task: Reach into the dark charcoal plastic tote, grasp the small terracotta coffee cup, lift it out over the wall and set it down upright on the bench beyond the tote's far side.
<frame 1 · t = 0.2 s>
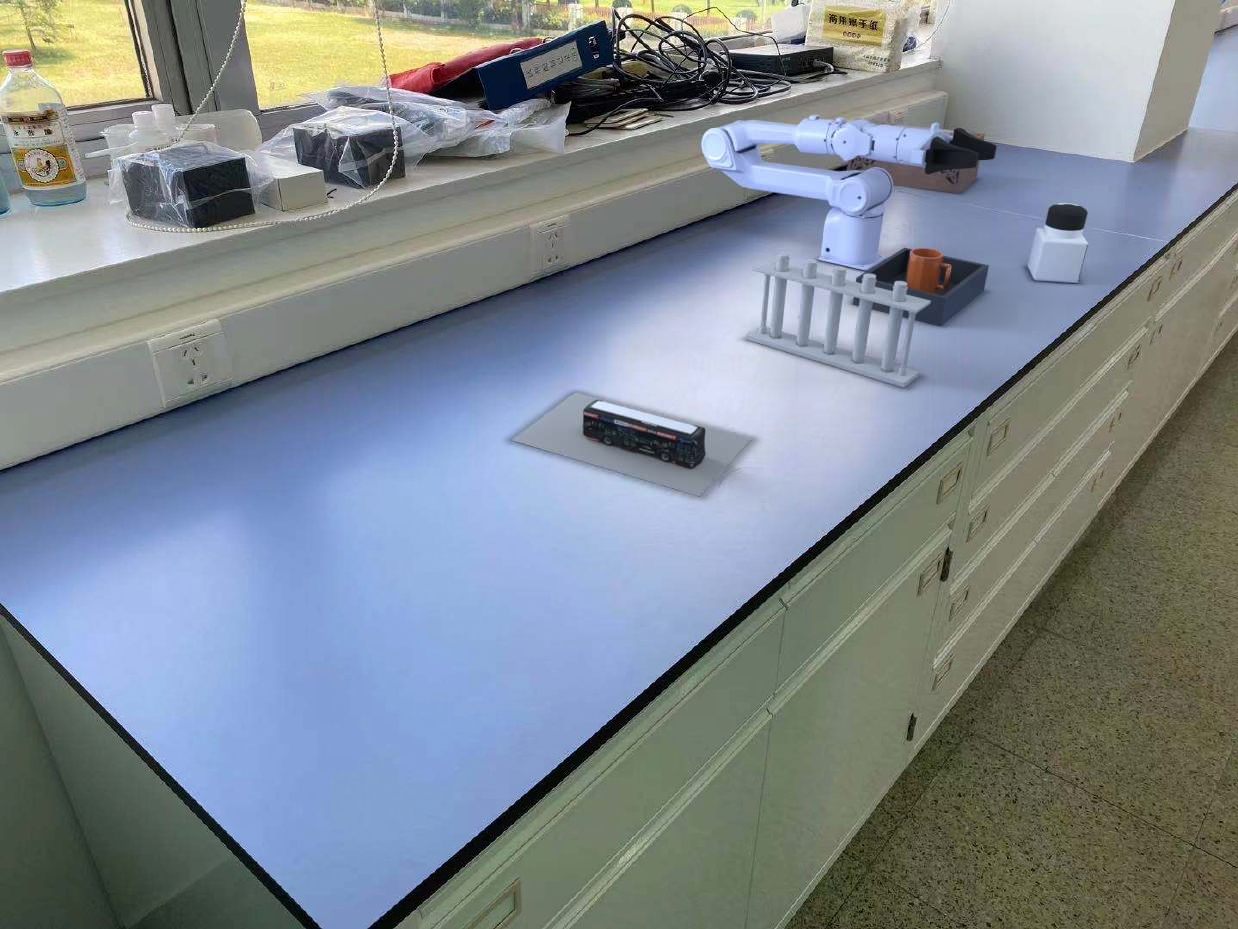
hand: (986, 156, 150), 21 cm above the worktop, tool horizontal, fingers open, 7 cm apart
medicine bottle: (1051, 276, 165), on the worktop
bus: (631, 441, 116), on the worktop
bin: (919, 297, 156), on the worktop
test tube rack: (828, 358, 136), on the worktop
cup: (928, 275, 153), in the bin
tissue box cover: (910, 178, 220), on the worktop
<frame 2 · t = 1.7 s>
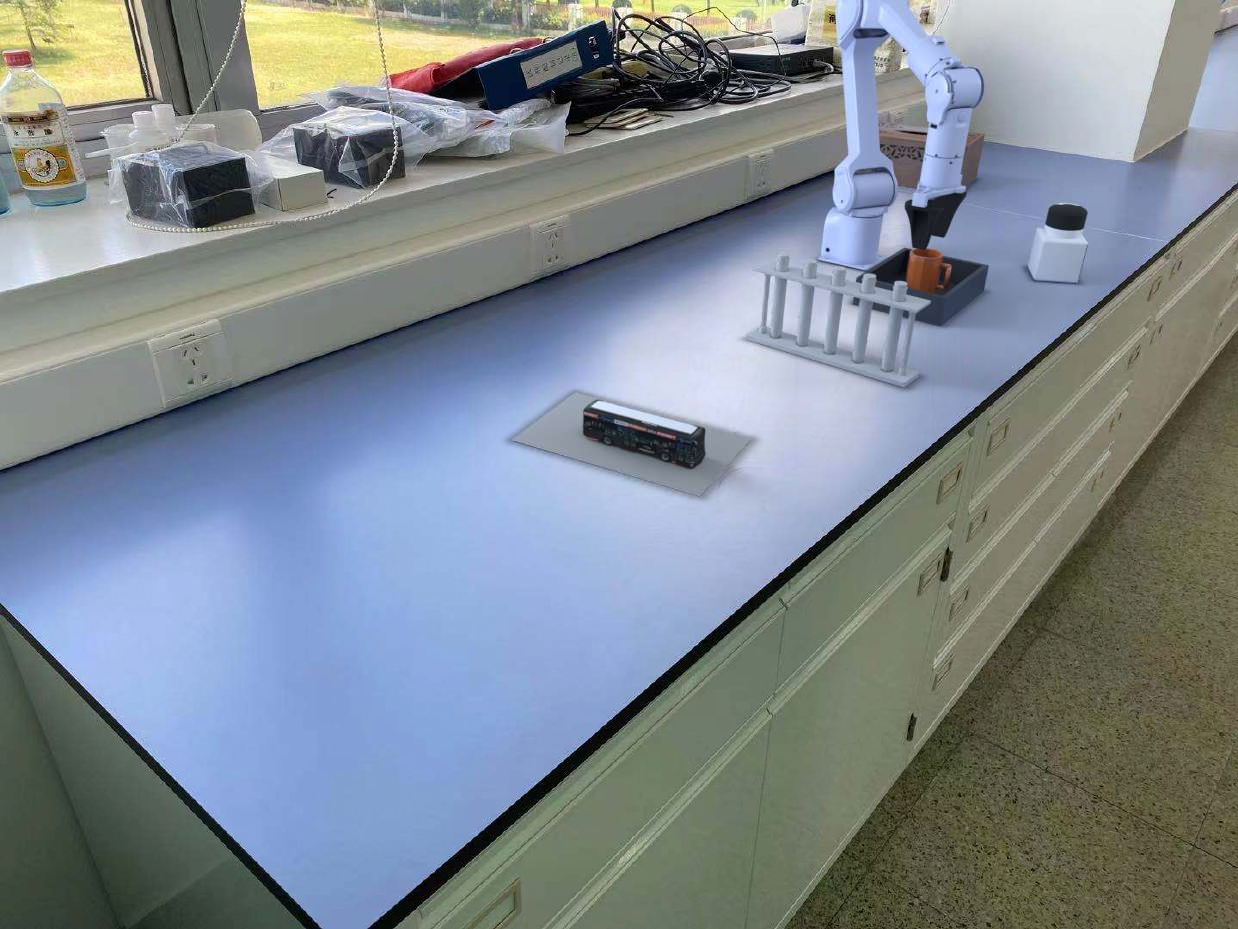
hand: (928, 242, 151), 9 cm above the worktop, tool pointing down, fingers open, 7 cm apart
nothing on the worktop moved.
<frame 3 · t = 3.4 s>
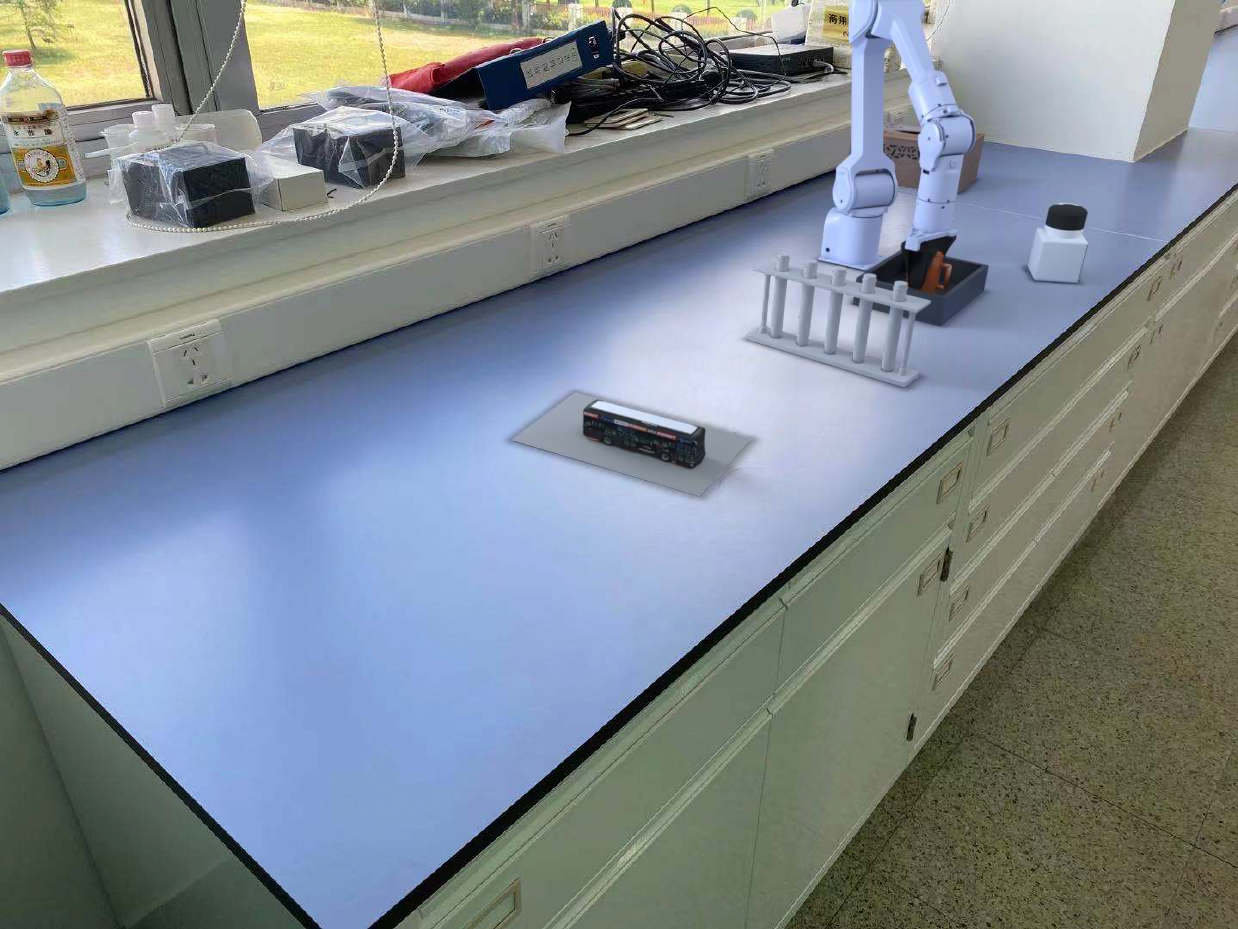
hand: (921, 282, 155), 3 cm above the worktop, tool pointing down, fingers closed on cup, 5 cm apart
cup: (928, 275, 153), in the bin, touching gripper
everything else where it was.
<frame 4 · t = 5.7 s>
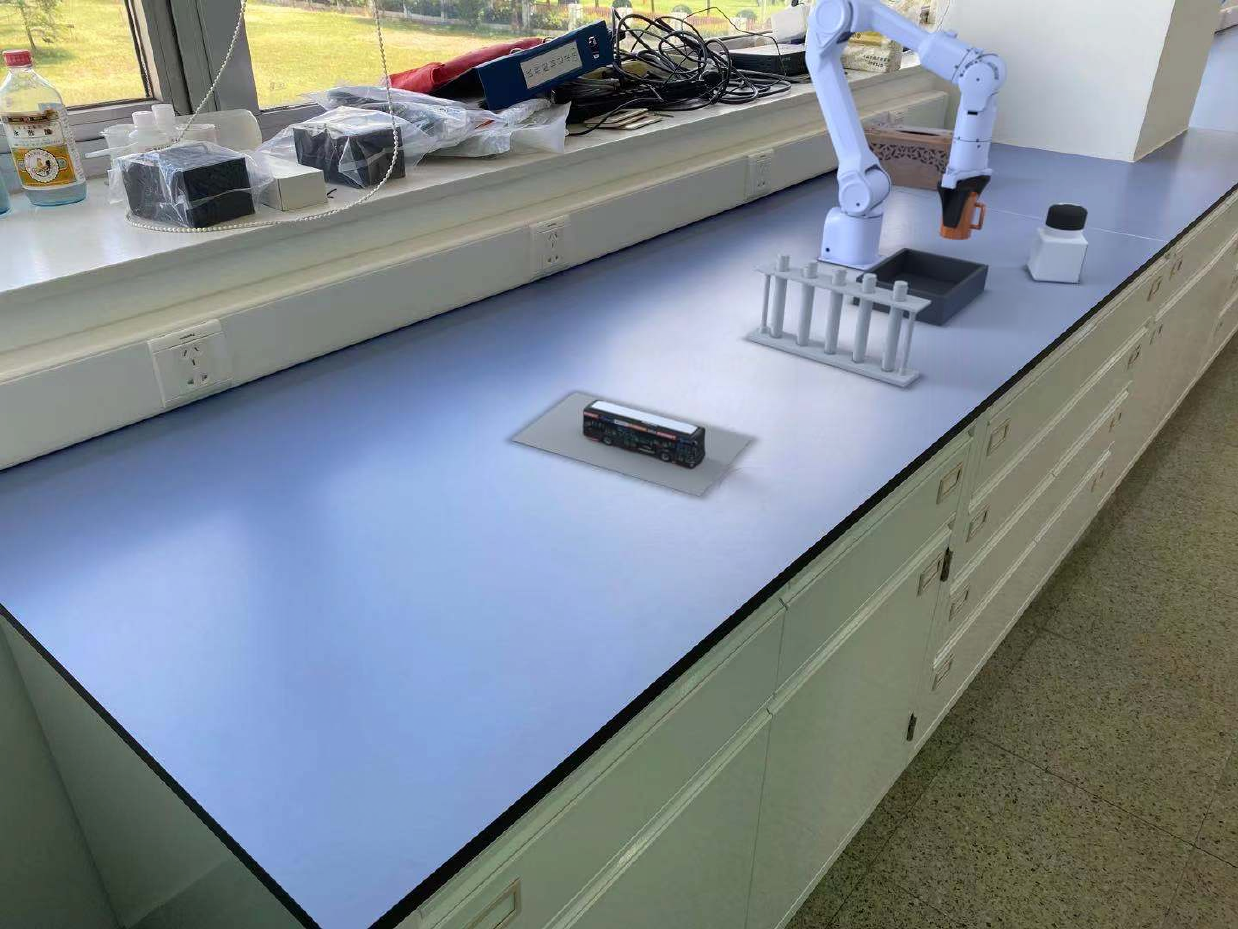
hand: (956, 222, 159), 10 cm above the worktop, tool pointing down, fingers closed on cup, 5 cm apart
cup: (963, 215, 158), point 11 cm above the worktop, touching gripper
everything else where it was.
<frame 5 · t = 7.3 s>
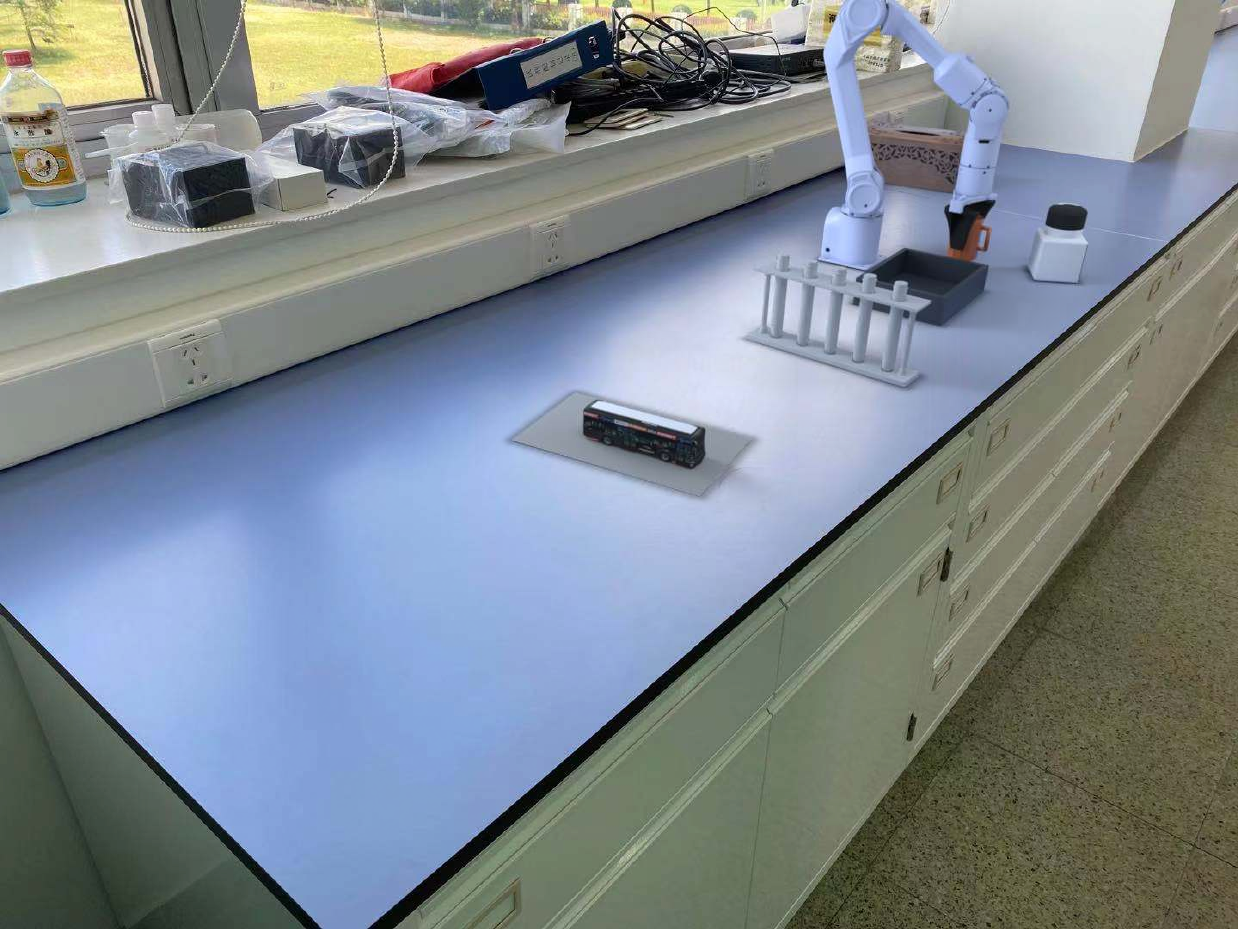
hand: (962, 244, 165), 4 cm above the worktop, tool pointing down, fingers closed on cup, 5 cm apart
cup: (969, 237, 164), point 6 cm above the worktop, touching gripper
everything else where it was.
when the fingers open (2 cm above the worktop, at t = 8.5 s): cup stays where it is, on the worktop.
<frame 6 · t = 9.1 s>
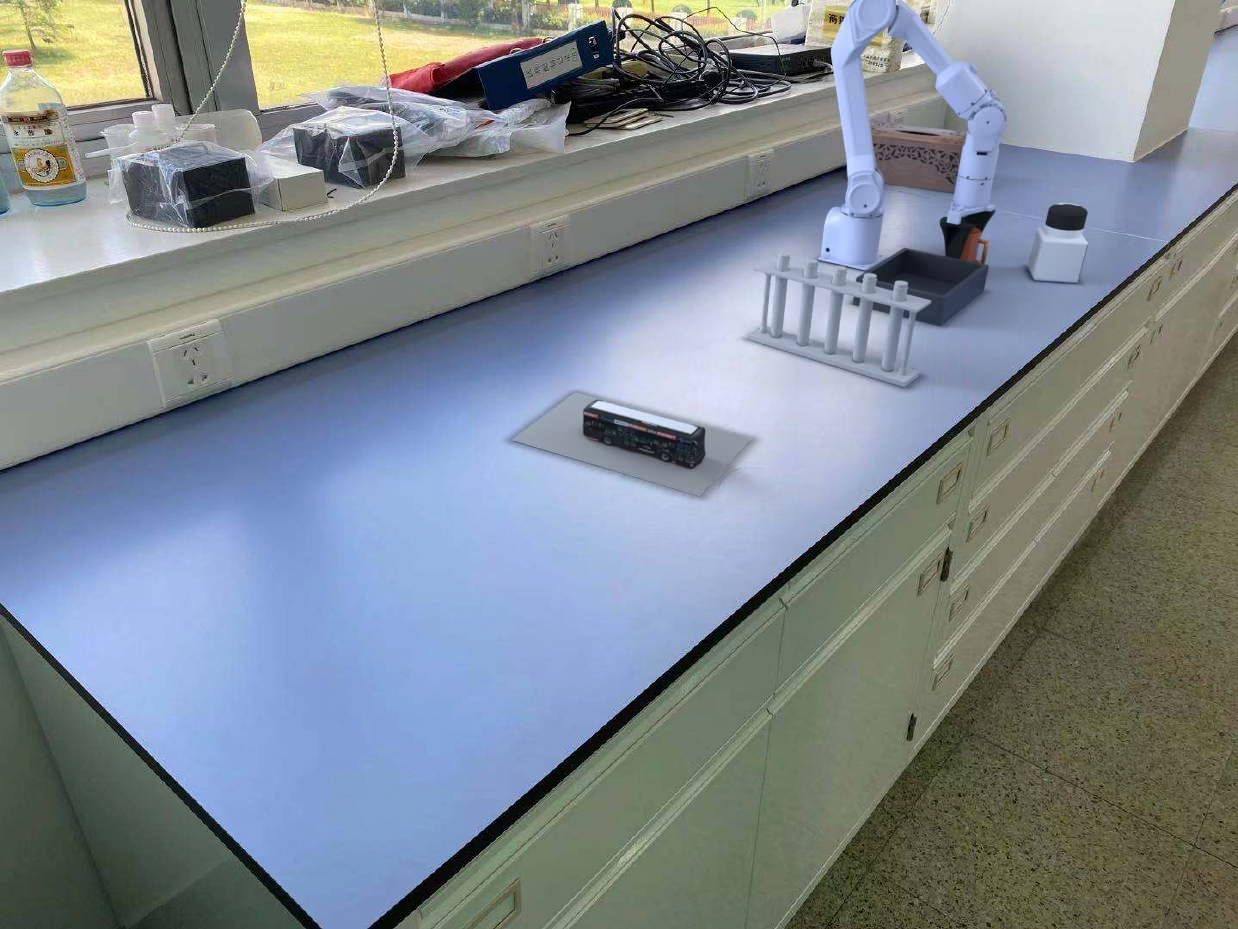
hand: (960, 255, 166), 3 cm above the worktop, tool pointing down, fingers open, 7 cm apart
cup: (967, 250, 165), on the worktop
everything else where it was.
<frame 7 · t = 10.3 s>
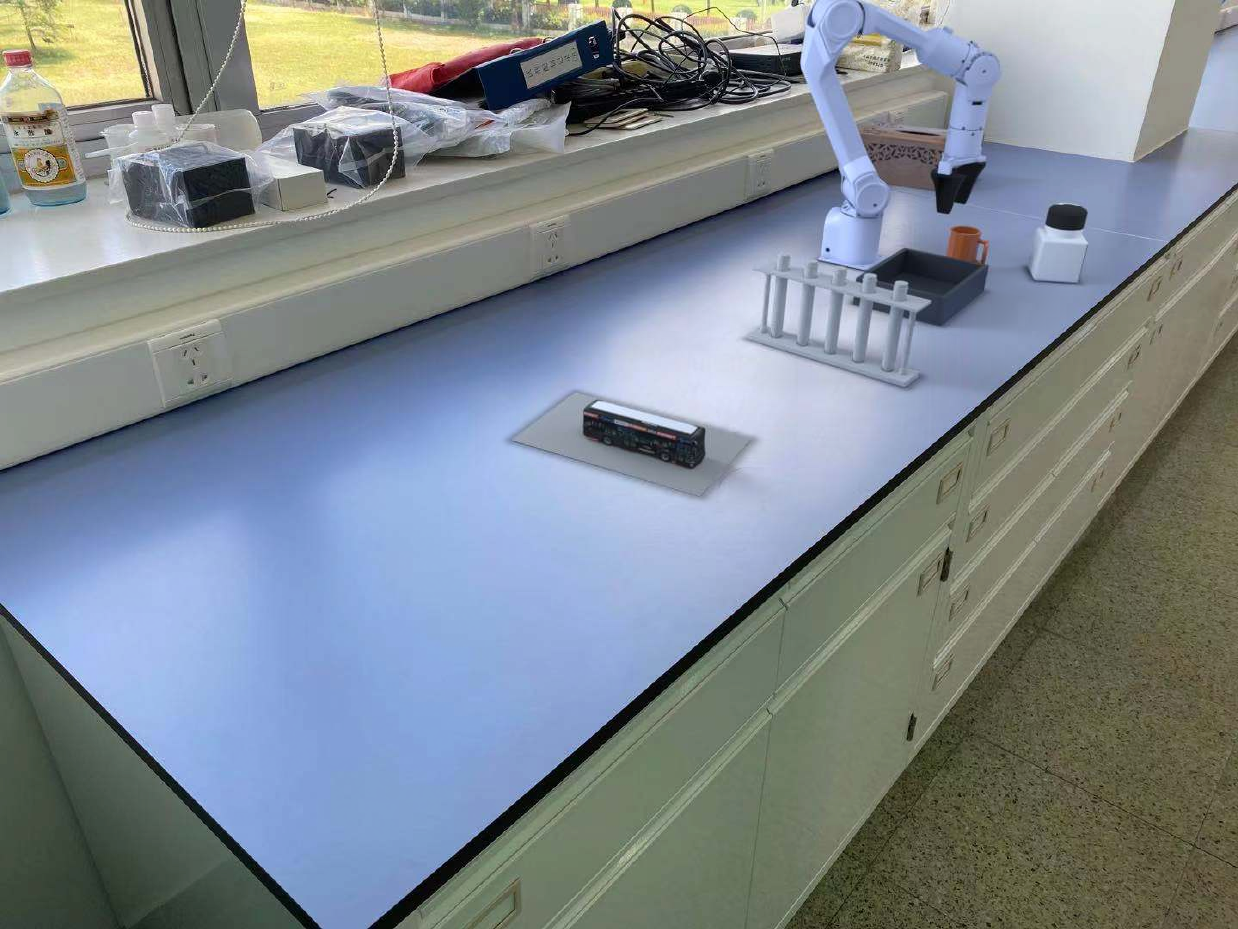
hand: (951, 207, 167), 9 cm above the worktop, tool pointing down, fingers open, 7 cm apart
nothing on the worktop moved.
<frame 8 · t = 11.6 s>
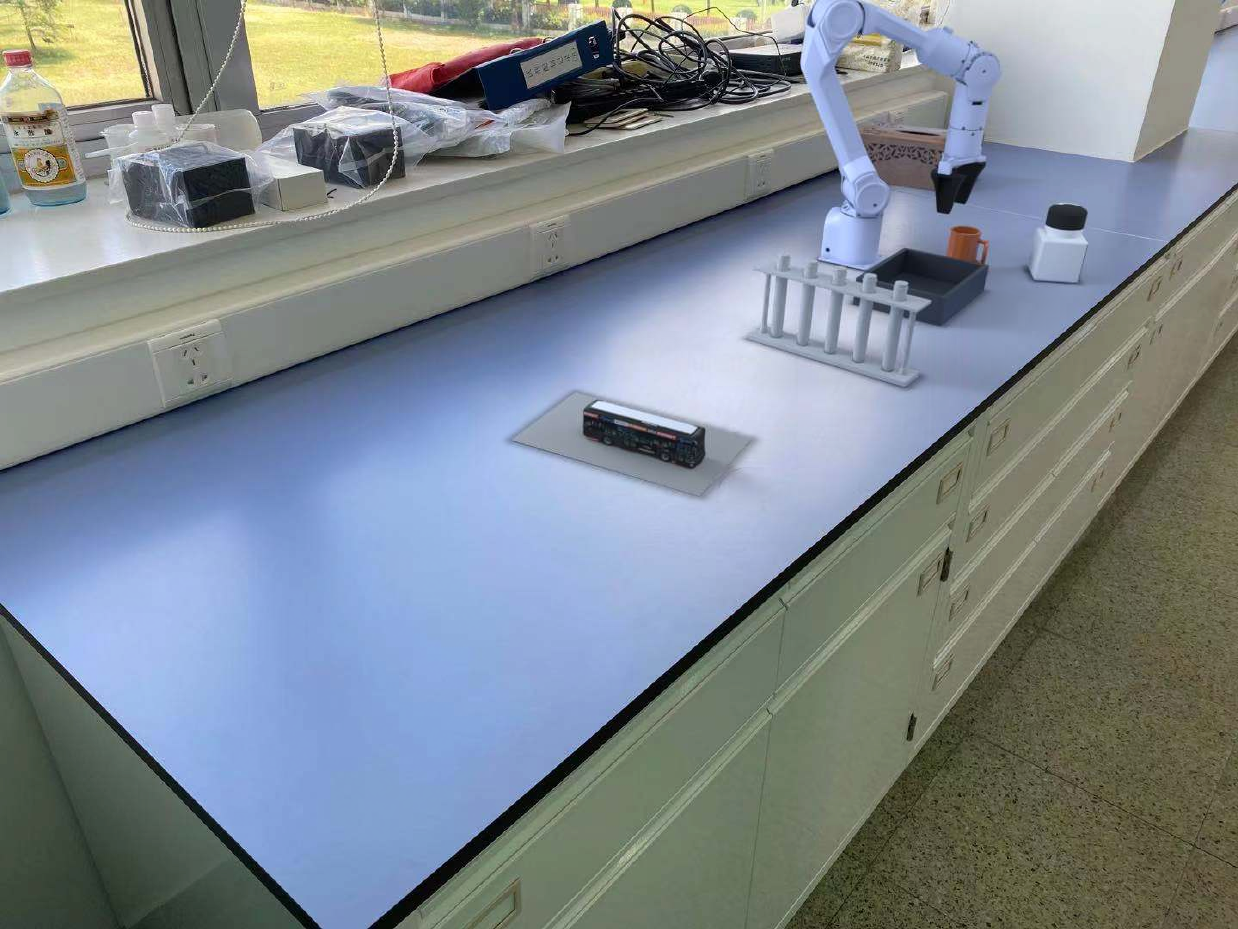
hand: (951, 207, 167), 9 cm above the worktop, tool pointing down, fingers open, 7 cm apart
nothing on the worktop moved.
at the end: cup inside the target area (0.1 cm from its centre), on the worktop; cup tilted 0°; the gripper is holding nothing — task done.
